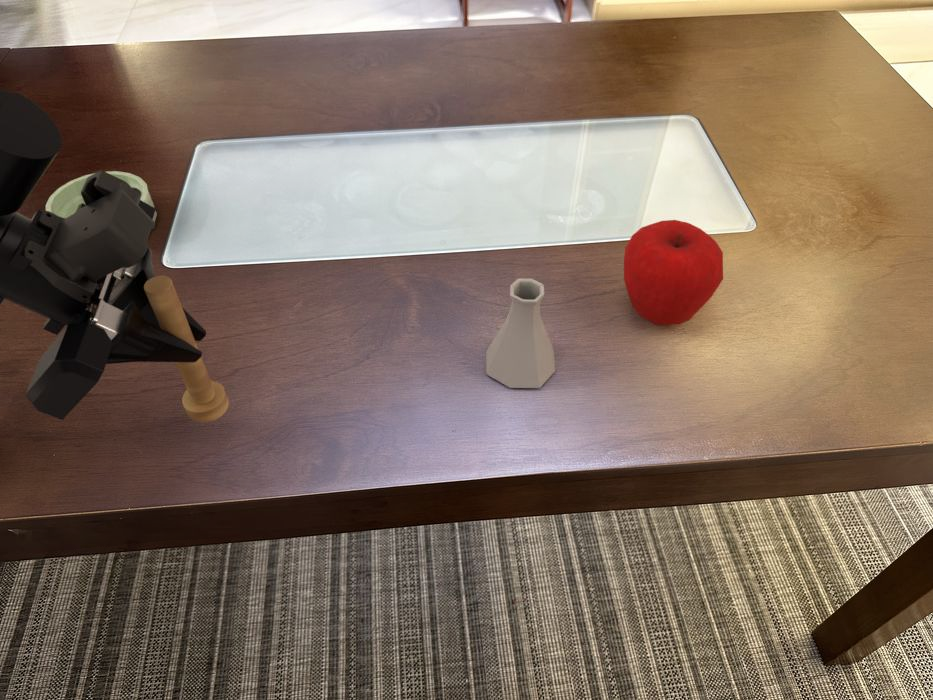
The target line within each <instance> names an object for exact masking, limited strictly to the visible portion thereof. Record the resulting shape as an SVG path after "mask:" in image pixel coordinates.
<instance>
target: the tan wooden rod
mask: <svg viewBox="0 0 933 700" xmlns="http://www.w3.org/2000/svg"><path fill="white" fill-rule="evenodd" d="M174 285H175V284H174V283H173V280H172V279H171V278H170V277H169V276H168V275H167V276H166V275H155V277H153V278H151V279H149V280H148V281H146V283H145V284H144V290H145V293H146V295H147V297H148V300H149V302H150V304H151V307H152V309H153V311H154V314H155V316H156V318H157V320H158V323H159V325H160V327H161V329H163V330H164V331H166V332H168V333H170V334H172V335H174V336H176V337H178V338H180V339H182V340H184V341H186V342H187V343H189V344H191V345H192V346H194V347H195V348H197V349H198V350H200V349H199V347H198V344H197V341H195V339H194V337H193V334H192V331H191V329H190V326H189V324H188V321H187V319H186V316H185V314H184V311H183V308H184V307H183V306H182V303H181V301H180V298H179V296H178V293H177V291H176V290H177V289H176V288H175V286H174ZM182 307H183V308H182ZM175 364H176V367H177V369H178V371H179V373H180V376H181V378H182V380H183V383H184V385H185V387H186V390H185V392H183V395H182V399H181V400H182V401H181V402H182V405H183V408H184V410H185V412H186V414H187V416H188V418H189V419H190V420H191V421H194V422H197V423H203V424H205V423H206V424H207V423H211V422H214V421H216V420H218V419H219V418H221V417H222V416H223V415H225V414H226V412H227V410H228V408H229V406H230V401H229V397H228V395H227V392H226V390H225V388H224V386H223V385H222V384H221V383H220V382H218V381H215V380H211V378H210V375H209V373H208V370H207V368H206V365H205V362H204V359H203V356H201V358H200V359H199V360H198V361H196V362H175Z"/></svg>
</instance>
